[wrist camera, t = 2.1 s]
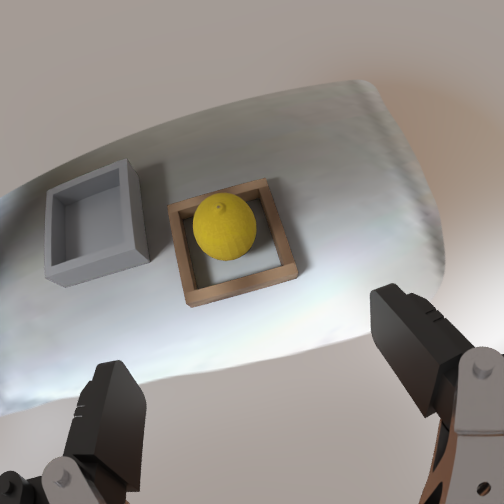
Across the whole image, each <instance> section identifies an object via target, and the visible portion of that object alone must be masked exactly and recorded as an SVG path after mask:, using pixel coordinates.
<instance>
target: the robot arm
mask: <svg viewBox="0 0 504 504" xmlns="http://www.w3.org/2000/svg"><path fill="white" fill-rule="evenodd" d="M370 315H371V333H372V337H373V340H374V342H375V344H376V346H377V348H378V349H379V350H380V352H381V353H382V355H383V356H384V358H385V359H386V361H387V362H388V364H389V365H390V366H391V368H392V369H393V371H394V372H395V374H396V375H397V377H398V378H399V380H400V381H401V383H402V384H403V386H404V387H405V389H406V390H407V392H408V393H409V395H410V396H411V397H412V399H413V401H414V402H415V404H416V405H417V407H418V408H419V410H420V411H421V413H422V414H423V416H424V418H426V417H428V416H430V415H432V414H433V413H435V412H437V414H438V415H439V417H440V418H441V419H440V422H439V427H438V433H437V439H436V444H435V449H434V454H433V459H432V463H431V468H430V472H429V476H428V479H427V482H426V484H425V487H424V489H423V492H422V495H421V498H420V501H419V504H504V354H500V353H499V352H498V351H496V350H494V349H492V348H488V347H476V348H475V347H474V346H473V345H472V344H471V343H470V342H469V341H468V340H467V339H466V338H465V337H464V336H463V335H462V334H461V333H460V332H459V331H458V330H457V329H456V328H455V327H454V326H453V325H452V324H451V323H450V322H449V321H448V320H447V319H446V318H444V316H443V315H442V314H441V313H440V312H439V311H438V310H437V311H436V308H435V307H434V306H433V305H432V304H431V303H430V302H429V301H428V300H427V299H425V298H423V297H420V296H418V295H416V294H414V293H410V294H407V295H406V294H405V293H404V292H403V291H402V290H401V289H400V288H399V287H398V286H397V285H396V284H394V283H391V284H389V285H386V286H383V287H380V288H378V289H375V290H372V291H371V293H370ZM145 416H146V400H145V397H144V394H143V392H142V390H141V389H140V387H139V386H138V384H137V383H136V381H135V380H134V378H133V377H132V375H131V374H130V372H129V371H128V369H127V368H126V366H125V365H124V363H123V362H122V361H120V360H116V361H111V362H106V363H101V364H98V365H97V367H96V370H95V373H94V376H93V379H92V381H89V382H88V383H87V385H86V386H85V388H84V389H83V390H82V392H81V394H80V397H79V400H78V403H77V408H76V410H75V413H74V419H73V420H72V423H71V427H70V431H69V434H68V438H67V442H66V446H65V450H64V454H63V457H58V458H55V459H53V460H52V461H51V462H49V463H48V465H47V466H46V467H45V469H44V471H43V474H42V476H39V477H35V478H31V479H27V480H25V479H24V478H23V477H21V476H20V475H19V474H18V473H16V472H14V471H7V472H4V473H3V474H2V475H1V476H0V504H130V503H129V502H128V501H127V500H126V492H139V491H140V476H141V462H142V449H143V437H144V427H145Z"/></svg>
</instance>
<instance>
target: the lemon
mask: <svg viewBox="0 0 504 504" xmlns="http://www.w3.org/2000/svg"><path fill="white" fill-rule="evenodd" d="M193 231H194V236H195V238H196V241H197V243H198V245H199V246H200V248H201V249H202V250H203V251H204V252H205V253H206V254H208V255H209V256H210V257H212V258H215V259H217V260H223V261H228V260H234V259H237V258H239V257H241V256H243V255H244V254H245V253H246V252H247V251H248V250H249V249H250V248H251V246H252V244H253V242H254V240H255V236H256V220H255V217H254V214H253V212H252V210H251V209H250V207H249V206H248V204H247V203H246V202H245V201H244V200H242V199H241V198H240V197H238V196H236V195H234V194H230V193H217V194H213V195H211V196H209V197H207V198H206V199H205V200H203V201H202V202H201V203H200V205H199V206H198V208H197V210H196V212H195V214H194V219H193Z"/></svg>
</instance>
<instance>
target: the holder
mask: <svg viewBox="0 0 504 504" xmlns="http://www.w3.org/2000/svg"><path fill="white" fill-rule="evenodd" d="M146 263H150V259H149V252H148V246H147V239H146V232H145V225H144V217H143V209H142V201H141V192H140V183H139V177H138V175H137V173H136V172H135V170H134V169H133V167H132V166H131V164H130V162H129V161H128V159H127V158H125V159H123V160H120V161H117V162H115V163H112V164H109V165H107V166H104V167H101V168H99V169H96V170H94V171H91V172H89V173H86V174H84V175H82V176H79V177H77V178H74V179H72V180H70V181H67V182H65V183H63V184H61V185H58V186H56V187H54V188H52V189H49V190H47V197H46V211H45V237H44V266H45V278H46V279H48V280H50V281H52V282H54V283H56V284H58V285H60V286H63V287H65V288H66V287H69V286H73V285H76V284H79V283H83V282H86V281H89V280H92V279H96V278H99V277H102V276H106V275H109V274H112V273H116V272H119V271H123V270H126V269H129V268H133V267H136V266H139V265H143V264H146Z"/></svg>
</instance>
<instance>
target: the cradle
mask: <svg viewBox="0 0 504 504" xmlns="http://www.w3.org/2000/svg"><path fill="white" fill-rule="evenodd" d="M217 193H230V194H234V195H236V196H238V197H240V198H241V199H242V200H244V201H245V202H246V201H250V200H254V199H257V198H260V201H261V204H262V207H263V210H264V213H265V216H266V219H267V222H268V225H269V228H270V231H271V235H272V238H273V241H274V244H275V247H276V250H277V253H278V256H279V259H280V262H281V265H282V266H281V267H277V268H274V269H270V270H267V271H263V272H260V273H256V274H252V275H249V276H245V277H242V278H238V279H235V280H231V281H227V282H224V283H220V284H217V285H213V286H209V287H206V288H202V289H198V288H197V284H196V280H195V275H194V271H193V266H192V262H191V257H190V253H189V248H188V243H187V238H186V233H185V229H184V224H183V219H186V218H189V217H193V216H194V214H195V212H196V210H197V208H198V206H199V205H200V203H201V202H202V201H203V200H205V199H206V198H207V197H209V196H211V195H213V194H217ZM167 208H168V214H169V220H170V226H171V231H172V237H173V242H174V247H175V252H176V257H177V262H178V267H179V272H180V277H181V282H182V287H183V291H184V296H185V300H186V304H187V305H188V306H190V307H191V308H193V307H196V306H200V305H204V304H208V303H211V302H215V301H219V300H222V299H226V298H230V297H233V296H237V295H241V294H244V293H248V292H251V291H255V290H258V289H262V288H265V287H269V286H272V285H276V284H279V283H283V282H286V281H290V280H293V279H296V278H297V275H298V270H297V267H296V264H295V261H294V258H293V255H292V252H291V249H290V246H289V243H288V240H287V237H286V235H285V232H284V229H283V226H282V223H281V220H280V217H279V214H278V212H277V209H276V206H275V203H274V200H273V198H272V195H271V192H270V189H269V186H268V184H267V181H266V178H263V179H259V180H255V181H251V182H247V183H243V184H240V185H236V186H232V187H229V188H225V189H221V190H218V191H214V192H211V193H207V194H204V195H200V196H197V197H193V198H190V199H187V200H183V201H180V202H177V203H173V204H170V205H167Z"/></svg>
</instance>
